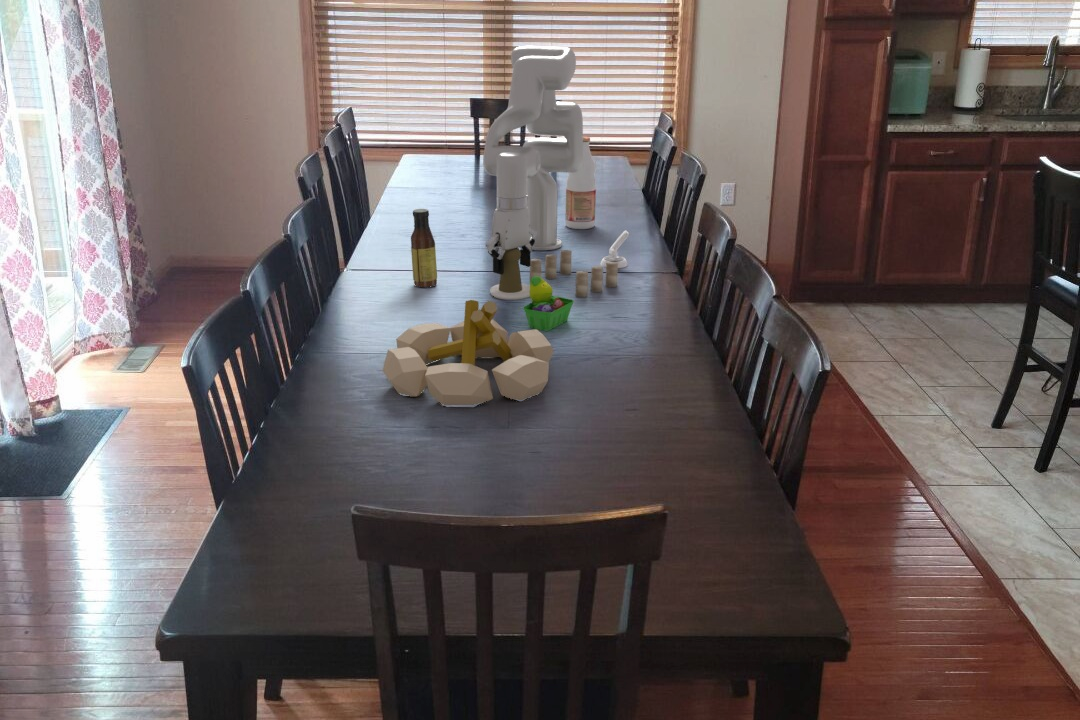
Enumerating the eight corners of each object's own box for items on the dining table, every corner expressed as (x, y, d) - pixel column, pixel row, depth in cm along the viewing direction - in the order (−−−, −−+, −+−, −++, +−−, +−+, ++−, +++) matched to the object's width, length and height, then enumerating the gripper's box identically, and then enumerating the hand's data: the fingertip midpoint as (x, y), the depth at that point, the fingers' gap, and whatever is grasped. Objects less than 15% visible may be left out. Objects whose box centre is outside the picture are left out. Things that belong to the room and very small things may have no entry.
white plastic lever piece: (646, 250, 288) (627, 238, 285) (619, 282, 293) (600, 270, 290) (642, 238, 294) (623, 225, 291) (615, 269, 299) (596, 257, 296)
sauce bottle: (441, 283, 275) (439, 209, 268) (429, 290, 270) (427, 214, 262) (420, 280, 277) (417, 206, 270) (407, 286, 272) (405, 211, 265)
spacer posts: (527, 282, 277) (527, 260, 274) (565, 270, 287) (565, 249, 285) (582, 298, 265) (582, 275, 262) (619, 285, 275) (620, 263, 273)
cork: (525, 287, 269) (525, 245, 265) (517, 293, 264) (517, 251, 260) (503, 284, 271) (503, 243, 267) (495, 291, 265) (494, 249, 261)
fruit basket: (549, 334, 240) (550, 287, 236) (517, 327, 244) (517, 280, 240) (574, 320, 249) (575, 274, 245) (543, 313, 253) (543, 268, 249)
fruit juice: (559, 225, 333) (560, 137, 323) (579, 221, 339) (581, 133, 329) (580, 231, 327) (582, 141, 317) (600, 226, 333) (603, 137, 323)
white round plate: (481, 293, 268) (481, 288, 267) (511, 284, 275) (511, 279, 275) (512, 302, 261) (512, 298, 260) (542, 293, 268) (542, 288, 268)
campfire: (550, 415, 199) (551, 331, 192) (372, 411, 200) (368, 327, 194) (555, 349, 231) (556, 275, 225) (402, 346, 232) (399, 272, 226)
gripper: (524, 195, 268) (524, 259, 274) (476, 206, 256) (477, 273, 262) (546, 199, 263) (545, 265, 269) (497, 211, 251) (498, 279, 257)
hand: (511, 269), depth 266 cm, fingers open, 9 cm apart
